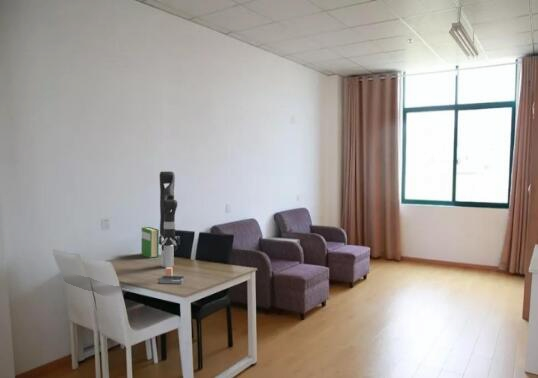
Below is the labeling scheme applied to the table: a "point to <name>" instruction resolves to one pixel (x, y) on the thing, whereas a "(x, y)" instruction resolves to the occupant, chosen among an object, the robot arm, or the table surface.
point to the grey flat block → (172, 279)
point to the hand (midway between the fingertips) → (169, 250)
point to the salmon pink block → (169, 271)
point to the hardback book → (150, 242)
